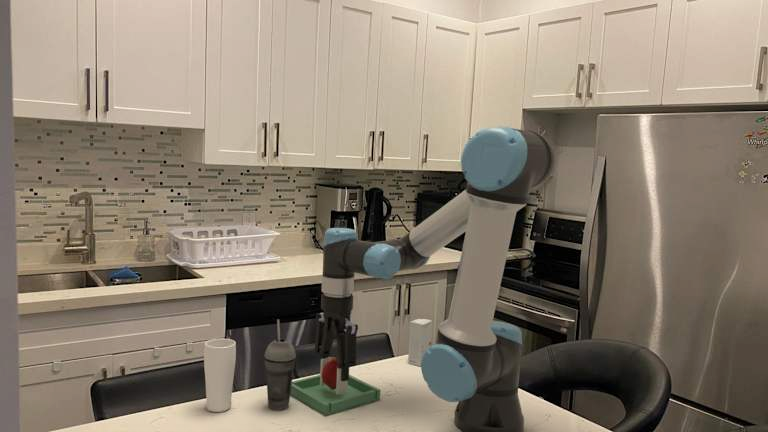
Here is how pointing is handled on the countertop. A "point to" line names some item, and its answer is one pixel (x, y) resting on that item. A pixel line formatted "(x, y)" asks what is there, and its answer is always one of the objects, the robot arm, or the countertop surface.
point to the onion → (330, 373)
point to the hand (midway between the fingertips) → (333, 388)
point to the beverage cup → (279, 372)
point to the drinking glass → (219, 373)
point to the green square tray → (333, 395)
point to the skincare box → (419, 340)
